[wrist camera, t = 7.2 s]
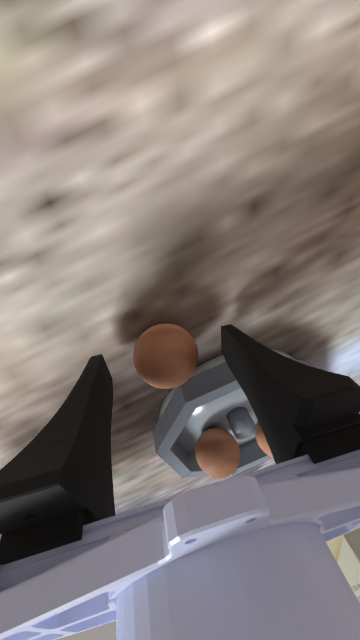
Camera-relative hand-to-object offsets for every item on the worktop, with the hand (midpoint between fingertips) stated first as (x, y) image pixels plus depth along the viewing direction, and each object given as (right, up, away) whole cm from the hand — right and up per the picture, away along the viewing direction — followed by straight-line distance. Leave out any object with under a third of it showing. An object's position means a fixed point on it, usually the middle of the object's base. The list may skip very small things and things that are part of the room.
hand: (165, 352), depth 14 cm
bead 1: (0, 0, 0) cm, 0 cm away
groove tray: (+6, -6, +8) cm, 11 cm away
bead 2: (+4, -9, +6) cm, 12 cm away
